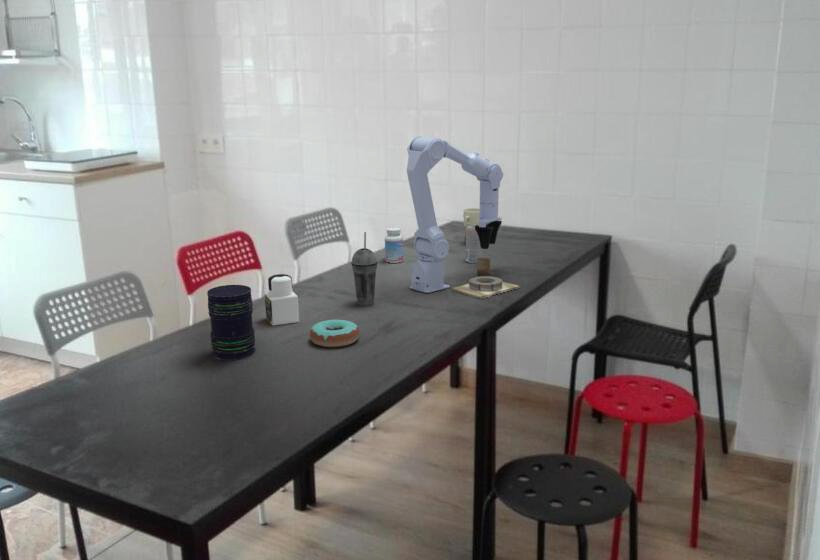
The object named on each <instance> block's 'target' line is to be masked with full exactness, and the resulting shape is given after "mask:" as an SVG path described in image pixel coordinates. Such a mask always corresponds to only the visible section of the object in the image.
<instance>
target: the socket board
mask: <svg viewBox="0 0 820 560" xmlns="http://www.w3.org/2000/svg"><path fill="white" fill-rule="evenodd" d="M468 282H469V283H466V284H463V285H459V286H458V285H457V286H454V287H451V291H452V292H454V293H459V294H461V293H462V295H465V296H469V297H473V298H475V299H479V298H480V300H484V299H486V297H488V298H491V297H493V296H492V295H495V296H497V295H496V294H498V295H501V294H500V293H502V294H504V293H503V292H505V293H508V292H507V291H509V292H511V291H510V290H512V291H515V290H514V289H516V290H518V288H519V289H520V285H517V284H514V283H509V282H505V281H503V278H500V277H495V276H491V275H490V276H480V277H477V276H475V277H471V278H469V281H468ZM490 296H491V297H490ZM483 298H484V299H483Z"/></svg>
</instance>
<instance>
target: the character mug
mask: <svg viewBox="0 0 820 560" xmlns="http://www.w3.org/2000/svg"><path fill="white" fill-rule="evenodd" d="M479 209H480V208H479V207H478V208H475V207H474V208H473V207H472V208H464V209H463V223H462V225H463V226H464V227H465V228H466V227H467V226H470V225H479ZM464 244H465V245H466V233H465V236H464Z"/></svg>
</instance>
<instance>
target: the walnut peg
mask: <svg viewBox="0 0 820 560" xmlns="http://www.w3.org/2000/svg"><path fill="white" fill-rule="evenodd" d="M480 276H491V259H490V257H482V258H478V259H477V263H476V277H480Z"/></svg>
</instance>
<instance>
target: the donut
mask: <svg viewBox="0 0 820 560" xmlns="http://www.w3.org/2000/svg"><path fill="white" fill-rule="evenodd" d="M359 336H360V329H359V327H358V325H357V324H356V323H354V322H353V321H349V320H344V319H328V320H323V321H319V322H317V323H315V324H314V325H312V327H311V328H310V330H309V339H310V340H311V342H312V343H313V344H315V345H317V346H320V347H323V348H342V347H346V346H350V345H352V344H353V343H355V342H356V341H358V339H359Z"/></svg>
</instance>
